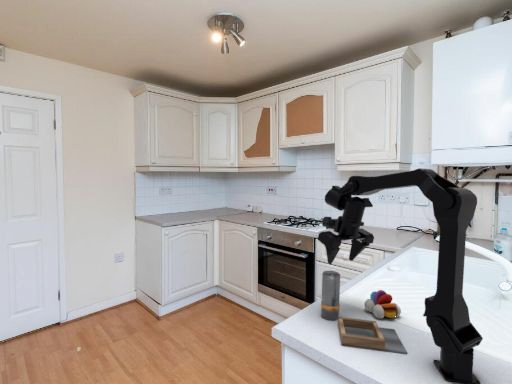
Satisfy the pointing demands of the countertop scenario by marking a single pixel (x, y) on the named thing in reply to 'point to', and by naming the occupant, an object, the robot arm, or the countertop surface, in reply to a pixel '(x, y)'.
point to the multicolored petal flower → (382, 305)
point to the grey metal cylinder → (330, 295)
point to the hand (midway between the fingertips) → (340, 261)
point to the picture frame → (368, 335)
